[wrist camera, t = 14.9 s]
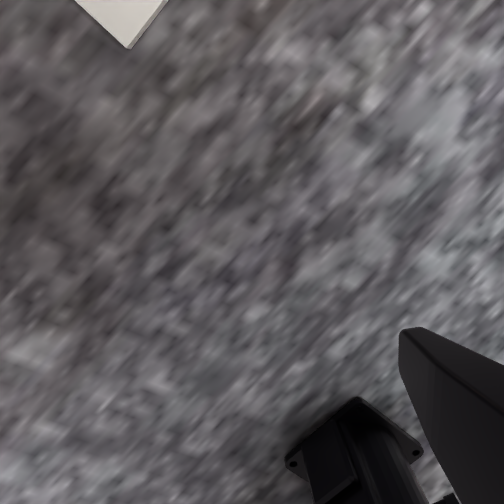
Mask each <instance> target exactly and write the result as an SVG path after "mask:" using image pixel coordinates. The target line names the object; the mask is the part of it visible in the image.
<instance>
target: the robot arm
mask: <svg viewBox="0 0 504 504" xmlns="http://www.w3.org/2000/svg"><path fill="white" fill-rule="evenodd" d="M398 366H399V372H400V375H401V378H402V380H403V383H404V385H405V387H406V390H407V392H408V395H409V397H410V399H411V402H412V404H413V407H414V409H415V411H416V414H417V416H418V418H419V421H420V423H421V426H422V428H423V430H424V433H425V435H426V437H427V440H428V442H429V444H430V446H431V448H432V450H433V452H434V454H435V456H436V458H437V460H438V462H439V463H440V465H441V467H442V469H443V471H444V473H445V474H446V476H447V478H448V480H449V482H450V483H451V485H452V487H453V489H454V491H455V492H456V494H457V496H458V498H459V500H460V501H461V503H462V504H504V365H502V364H500V363H498V362H495V361H493V360H491V359H489V358H487V357H485V356H483V355H481V354H478V353H476V352H474V351H472V350H470V349H468V348H466V347H464V346H461V345H459V344H457V343H455V342H453V341H451V340H449V339H447V338H444V337H442V336H440V335H438V334H436V333H434V332H432V331H430V330H427V329H425V328H423V327H415V328H408V329H403V330H402V331H401V332H400V334H399V355H398ZM360 406H361V407H360ZM357 407H360V408H357ZM423 453H424V450H423V448H422V446H421V445H420V443H419V442H417V441H416V440H415V439H413V438H412V437H411V436H410V435H408V434H407V433H406V432H404V431H403V430H402V429H400V428H399V427H398V426H397V425H395V424H394V423H393V422H391V421H390V420H389V419H388V418H386V417H385V416H384V415H382V414H381V413H380V412H379V411H377V410H376V409H375V408H373V407H372V406H371V405H370V404H368V403H367V402H366V401H364V400H363V399H359V398H358V399H354V400H353V401H351V402H350V403H349V404H348V405H346V406H345V407H344V408H343V409H342V410H340V411H339V412H338V413H337V414H336V415H334V416H333V417H332V418H331V419H330V420H328V421H327V422H326V423H325V424H324V425H322V426H321V427H320V428H319V429H318V430H316V431H315V432H314V433H313V434H312V435H310V436H309V437H308V438H307V439H306V440H304V441H303V442H302V443H301V444H300V445H298V446H297V447H296V448H295V449H294V450H292V451H291V452H290V453H289V454H288V455H287V456H286V457H285V459H284V460H285V465H286V468H287V469H289V470H290V471H292V472H293V473H295V474H296V475H298V476H300V477H301V478H303V479H304V480H306V481H307V482H309V485H310V489H311V493H312V498H313V502H314V504H429V502H428V500H427V498H426V496H425V494H424V492H423V490H422V488H421V486H420V484H419V482H418V480H417V478H416V476H415V474H414V472H413V470H412V468H411V466H410V464H412V463H413V462H414V461H416V460H417V459H418V458H419V457H421V456H422V455H423ZM292 461H294V462H292ZM443 498H444V499H443V500H440V501H438V502H436V503H433V504H459V502H458V500H457V499H456V497H455V495H454V494H453V493H451V494H449V495H446V496H444V497H443Z"/></svg>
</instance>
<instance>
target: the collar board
mask: <svg viewBox="0 0 504 504" xmlns="http://www.w3.org/2000/svg"><path fill="white" fill-rule="evenodd" d="M75 1H76V2H77V3H78V4H79V5H80V6H81V7H83V8H84V9H85V10H86V11H87V12H88V13H89V14H90V15H91V16H92V17H93V18H94V19H95V20H97V21H98V22H99V23H100V24H101V25H102V26H103V27H104V28H105V29H106V30H107V31H108V32H109V33H111V34H112V35H113V36H114V37H115V38H116V39H117V40H118V41H119V42H120V43H121V44H122V45H123V46H125V47H126V48H128V49H131V48H132V47H133V46H134V45H135V43H136V42H137V41H138V39H139V38H140V37H141V35H142V34H143V33H144V32H145V30H146V29H147V28H148V26H149V25H150V24H151V23H152V21H153V20H154V19H155V17H156V16H157V15H158V13H159V12H160V11H161V10H162V8H163V7H164V6H165V4H166V3H167V2H168V1H169V0H75Z"/></svg>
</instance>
